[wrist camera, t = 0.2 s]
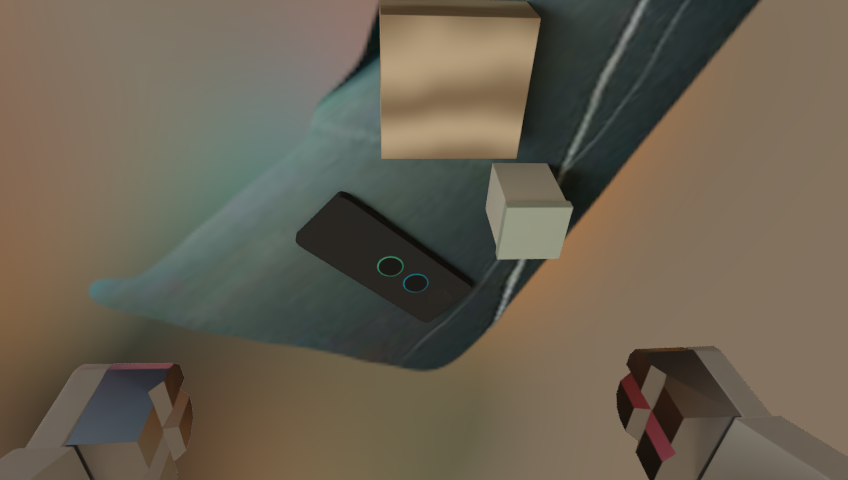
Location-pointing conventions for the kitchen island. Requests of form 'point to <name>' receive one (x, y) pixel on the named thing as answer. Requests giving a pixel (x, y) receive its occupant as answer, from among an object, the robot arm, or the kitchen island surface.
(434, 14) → the oak block
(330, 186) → the kitchen island surface
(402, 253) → the smart home device
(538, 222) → the cream tea tin
